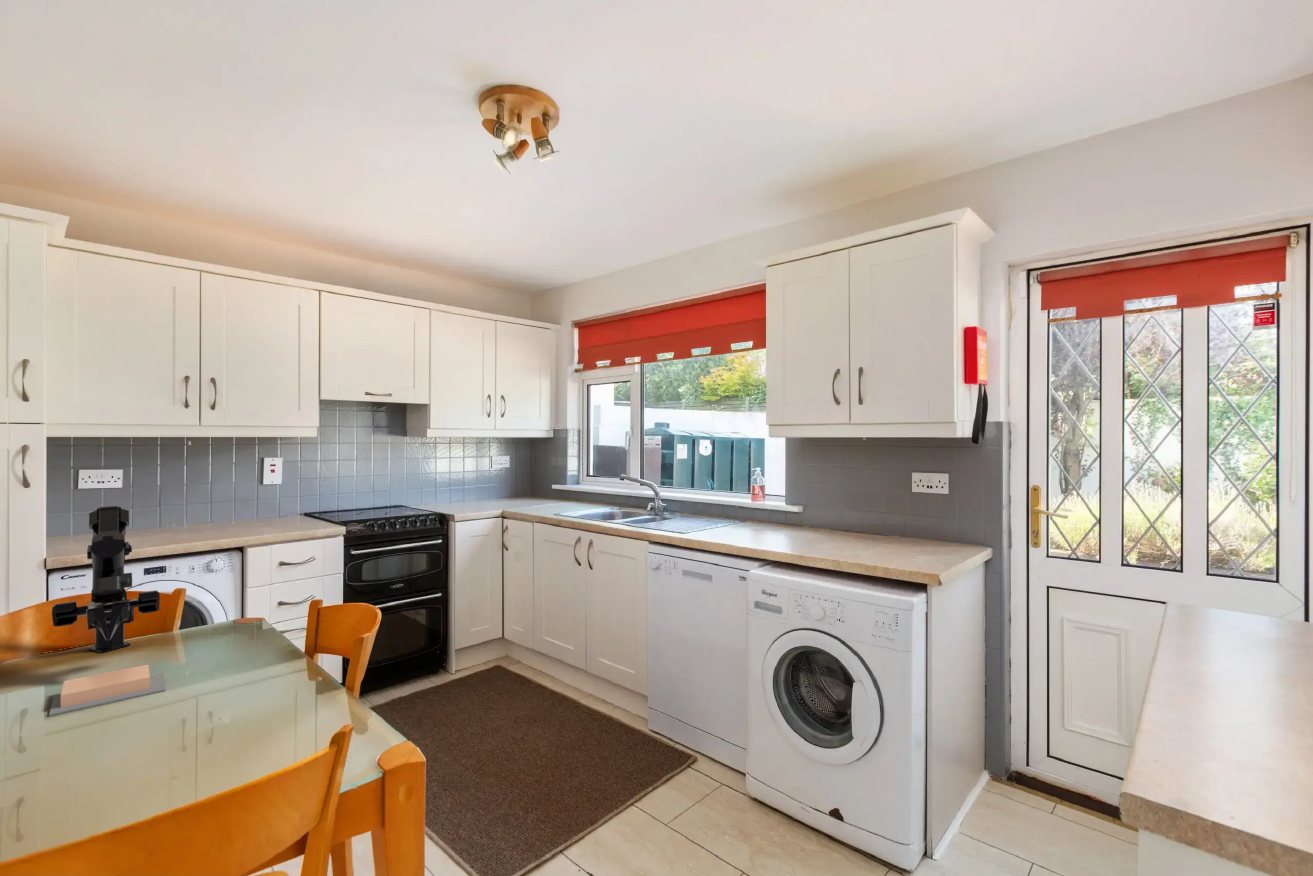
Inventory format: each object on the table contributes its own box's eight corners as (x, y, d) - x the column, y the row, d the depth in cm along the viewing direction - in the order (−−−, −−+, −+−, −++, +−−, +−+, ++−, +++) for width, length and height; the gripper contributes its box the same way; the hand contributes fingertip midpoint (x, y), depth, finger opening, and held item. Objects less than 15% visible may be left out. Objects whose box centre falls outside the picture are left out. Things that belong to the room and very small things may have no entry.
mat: (54, 697, 129) (54, 695, 129) (162, 675, 141) (162, 673, 141) (49, 716, 120) (49, 714, 120) (165, 690, 132) (165, 689, 132)
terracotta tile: (64, 681, 131) (60, 695, 123) (148, 664, 140) (150, 677, 133) (64, 692, 131) (60, 707, 123) (148, 675, 140) (150, 688, 133)
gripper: (52, 568, 136) (48, 629, 128) (159, 557, 149) (161, 612, 141) (55, 596, 142) (51, 656, 134) (157, 583, 155) (160, 637, 147)
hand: (108, 639), depth 139 cm, fingers closed
